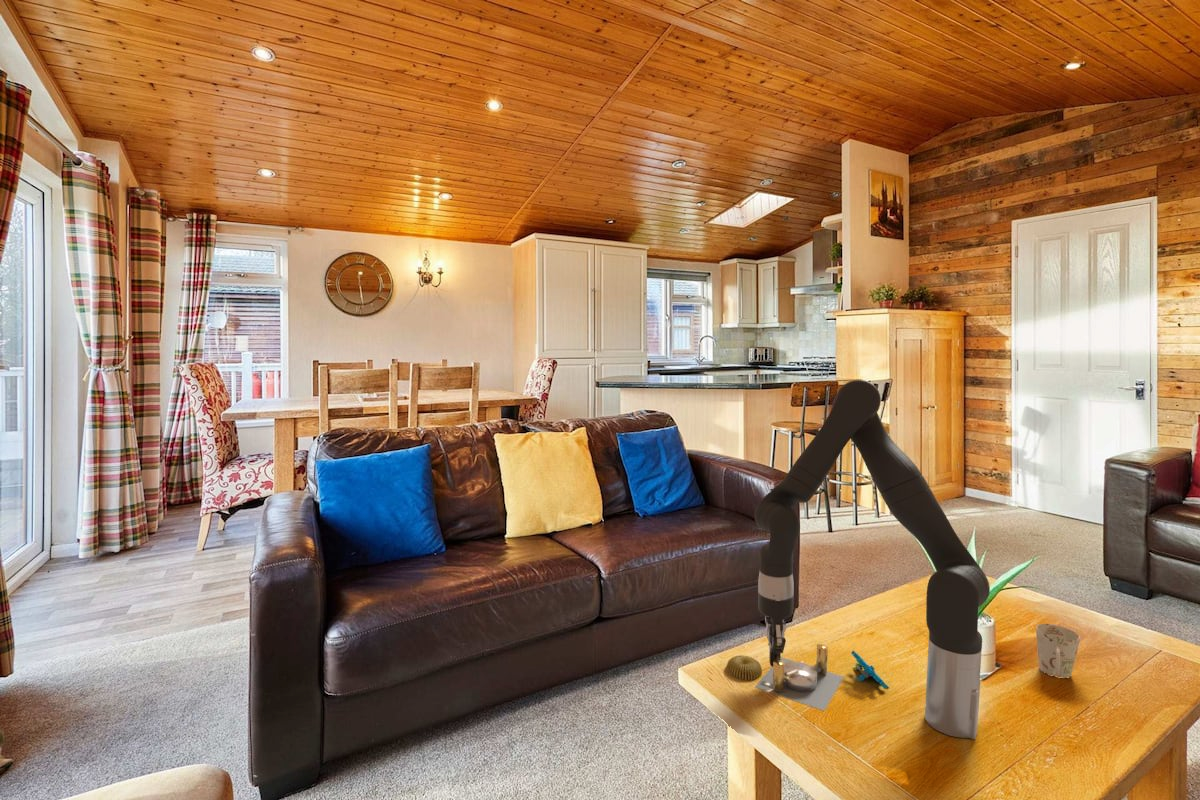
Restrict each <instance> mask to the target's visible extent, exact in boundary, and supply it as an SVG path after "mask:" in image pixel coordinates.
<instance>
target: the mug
mask: <svg viewBox="0 0 1200 800" xmlns="http://www.w3.org/2000/svg"><path fill="white" fill-rule="evenodd" d="M1035 634H1036V647H1037V658H1038V669H1039V671H1041V672H1042V671H1043V672H1044V673H1043V672H1042V673H1043V674H1045V673H1047V674H1049V675H1053V676H1057V677H1063V678H1067V677H1070V676H1071V677H1072V673H1073V670H1074V666H1075V662H1076V658H1077V654H1078V650H1079V646H1080V642H1081V636H1080V634H1079V633H1078V632H1077V631H1075V630H1073V629H1071V628H1068V627H1065V626H1062V625H1057V624H1053V623H1052V624H1051V623H1040V624H1037V625H1036V627H1035ZM1047 674H1046V675H1047ZM1049 675H1048V676H1049ZM1071 677H1070V678H1071Z"/></svg>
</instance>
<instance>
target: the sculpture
mask: <svg viewBox="0 0 1200 800" xmlns="http://www.w3.org/2000/svg"><path fill="white" fill-rule="evenodd" d="M726 670H727V671H726V672H727V673H728V674H729V675H731V676H732V677H734V678H736V679H738V680H745V681H747V680H748V681H750V680H751V681H752V680H756V679H758V678H760V677H761V676H762V673H763V669H762V665H761V664H760V662H759V661H758V660H756V659H755V658H753V657H752V656H748V655H735V656H732V657H731V658H730V659H729V660H728V662H727V664H726Z"/></svg>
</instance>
